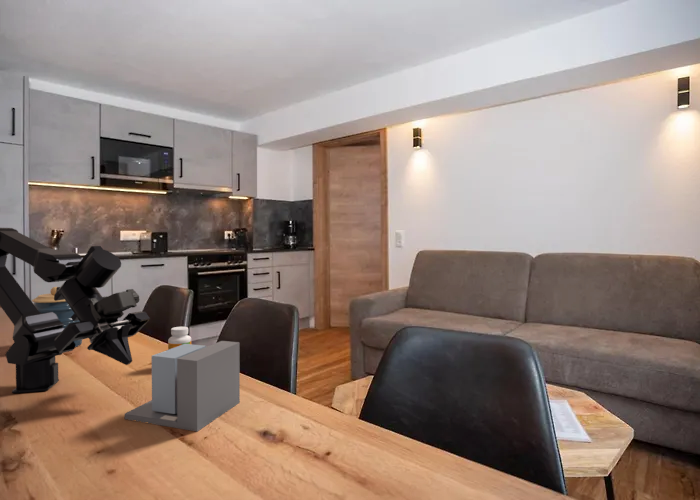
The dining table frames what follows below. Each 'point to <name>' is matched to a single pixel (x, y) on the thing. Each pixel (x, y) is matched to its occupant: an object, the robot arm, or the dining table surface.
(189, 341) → the supplement bottle
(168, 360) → the blue-gray rectangular block
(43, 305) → the canister
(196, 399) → the plate
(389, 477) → the dining table surface
